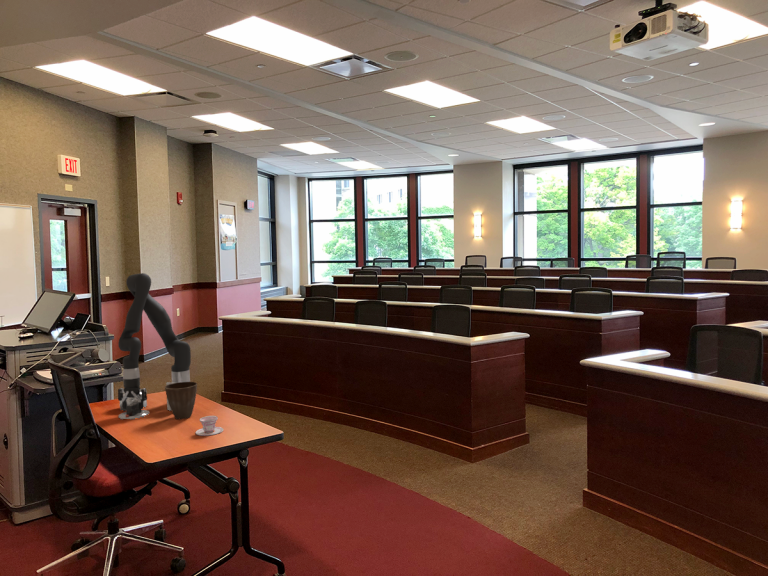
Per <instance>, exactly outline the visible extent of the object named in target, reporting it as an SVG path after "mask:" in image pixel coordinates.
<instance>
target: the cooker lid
mask: <svg viewBox="0 0 768 576" xmlns="http://www.w3.org/2000/svg"><path fill="white" fill-rule="evenodd" d="M148 414H149V415H150V411H149V410H146V409H141V410H139V402H134V403H132V404H129V405H127V406H126V411H123V412H122V413H120V414H118V419H119V418H120V420H123V419H130V420H136V419H135V418H138V419H141V418H140V417H142V418H145V417H147V416H149V415H148ZM146 415H147V416H146ZM144 416H145V417H144Z"/></svg>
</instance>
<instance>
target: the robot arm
mask: <svg viewBox="0 0 768 576" xmlns="http://www.w3.org/2000/svg"><path fill="white" fill-rule="evenodd" d="M151 286H152V278H151V277H150V275H148V274H147V273H134V274H131V275H129V276H128V277H126V287H127V288H128V290H129V291H130V293H131V295H132V296H133V297H134V298H133V300H132V303H131V305H130V308H129V309H128V311H127V313H126V318H125V322H124V323H125V324H124V329H123V331H122V332H121V335H120V337H119V339H118V348H119V350H120V351H122V352H129V354H128V355H126V356H124V357H123V358H122V366H123V367H122V368H123V370H122V371H123V372H122V379H123V381H122V382H123V387H124V388H123V387H120V388H118V390H117V401H119V402H120V401H122V407H123V409H126V406H127V401H126V400H127V398H128V397H133V398H134V397H135V398H136V399H137V400H138V401H139V410H144V408H143V407H144V404H143V401H145V400H148V394H147V393H146V391H147V388H145V387H144V388H141V387H140V386H141V379H140V378H141V376H140V369H139V357H140V353H141V349H142V342H141V340H140V338H138V337H136V336H133V335H134V334H136V333H139V332H140V329H141V323H142V318H143V312H144V313H145V314H146V316H147V318H148V320H149V321H150V323H151V324H152V326H153V328H154V329H155V331H156V332H157V334H158V335H159V337H160V339H161V340H162V342H163V345H164V346H165V348H166V350H167V352H168V355H170V356H171V357H173V358H174V359H173V360H174V363H173V364H172V365H171V367H170V368H171V370H170V371H171V372H170V373H171V382H174V383H179V382H191V375H190V366H191V361H192V360H191V357H192V356H191V355H192V353H191V351H192V350H191V346H190V344H189V342H187V341H185V340H180V339H179V338H178V336H176V334H175V332H174V329H173V326H172V320H171V317H170V315H169V314H168V312H167V310H166V308H165V307H164V306H163V305H162V304H161V303H160V302H158V301H157V300H156V299H155V298H154V297H153V296H152V295H151V294H150V290H151ZM123 392H125V395H124V397H123ZM140 392H141V394H142V395H141V394H140Z"/></svg>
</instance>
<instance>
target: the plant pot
mask: <svg viewBox="0 0 768 576" xmlns="http://www.w3.org/2000/svg"><path fill="white" fill-rule="evenodd" d="M197 389H198V383H197V382H195V381H190V382H179V383H173V384H169V385H165V386H164V391H165V393H166V394H165V396H166V400H167V399H168V402H169V405H170V408H171V410H172V411H171V412H172V415H173V417H174V419H175V420H185V419H189V418H191V417H192V414H193V411H194V408H195V403H196V400H197V399H196V398H197V391H198V390H197Z"/></svg>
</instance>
